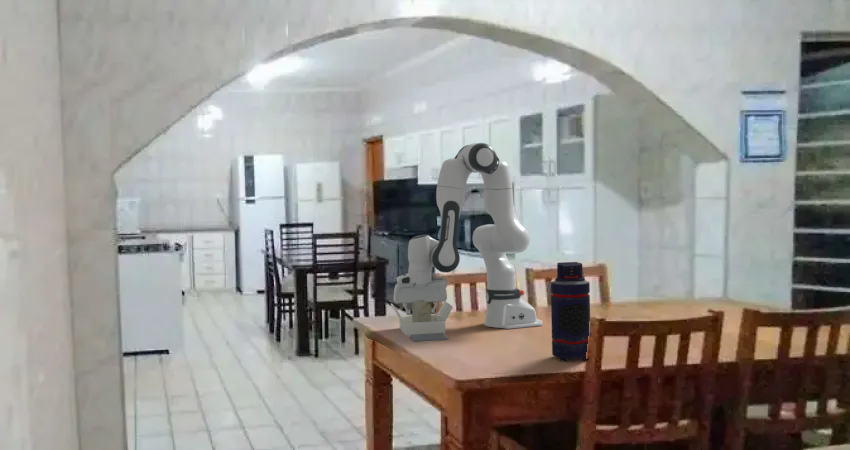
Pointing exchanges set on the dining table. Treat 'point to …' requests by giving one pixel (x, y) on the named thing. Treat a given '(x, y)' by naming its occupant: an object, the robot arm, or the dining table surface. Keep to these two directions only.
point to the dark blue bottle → (570, 312)
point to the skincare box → (421, 311)
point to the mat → (428, 337)
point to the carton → (425, 327)
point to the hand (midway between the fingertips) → (420, 314)
